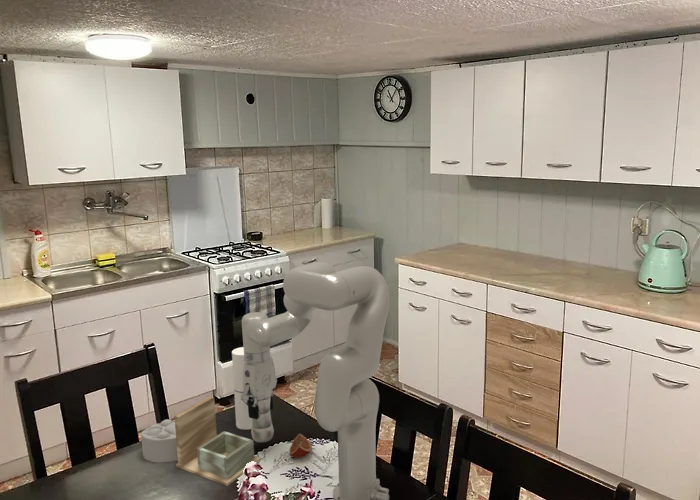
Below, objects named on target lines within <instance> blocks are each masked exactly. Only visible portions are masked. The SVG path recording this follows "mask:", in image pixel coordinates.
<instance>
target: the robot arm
mask: <svg viewBox="0 0 700 500" xmlns="http://www.w3.org/2000/svg"><path fill="white" fill-rule="evenodd" d="M284 276H285V277H284V278H283V283H282V288H283V292H284V296H283V305H284V307H285V309H286V310H287V311H285V312H283V313H280V314H277V315H273V316H271V317H268V315H267V314H266V313H264V312H257V311H256V312H253V311H252V312H249V313H246V314H244V315H243V316H242V318H241V328H242V329H241V331H242V333H241V334H242V342H243V346H242V347H244V361H245V363H244V369H243V389H244V392H243V394H242V396H241V400H242V401H243V402H244V403H245V404H246V405H247V406H248V412H249V418H253V419H258V418H259V416H258V406H256V403H257V398H259V397H261V396H263V395H264V394H265V393H266V392H268V391H271V399H270V411H272V410H274V403H273V402H274V400H273V396H274V395H275V394H274V391H275V388H277V387H276V386H277V382H278V378H277V376H276V375H277V374H276V367H275V364H274V362H275V361H274V359H273V357H272V355H271V347H272V346H275V345H278V344H280V343H283V342H285V341H288V340H290V339H293V338H296V337H297V336H299V335H300V334H301V333H302V332H303V331H304V330H305V329H306V328H307V327H308V326H309V325H310V324H311V322H312V318H313V312H314V310H315V309H319V310H322V311H323V310H324V311H327V312H328V311H331V312H334V311H339V310H343V309H346V308H349V307H350V306H351V307H352V306H354V305H356V308H355V310H354V312H353V313H352V316H351V318H350V321H349V323H348V329H347V337H346V341H345V342H344V344H343V345H341V346H339V347H337V348H336V349H333V350H331V351H329V352H327V354H325V355H324V357H323V358H322V359H321V361H320V363H319V366H318V371H317V377H316V378H317V380H316V386H315V387H316V388H315V393H314V394H315V396H314V404H313V405H314V408H313V409H314V415H315V419H316V422H317V424H318V425H319V426H320V427H321V428H322V429H324V431H328V432H334V433H335V432H337V459H338V460H337V461H338V463H337V464H338V465H337V466H338V482H337V483H336V485H335V487H333V490H332V498H333V500H390V494H389V491H390V490H389V488H386V487H382V486H381V485H380V484H381V482H380V478H377V474H376V471H377V469H376V468H377V465H376V463H377V461H376V457H377V455H376V449H377V447H376V442H377V441H376V438H377V437H376V430H377V429H376V426H377V425H376V424H377V416H378V411H379V406H380V405H379V404H380V393H379V390H378V388H377V386H376V384H375V383H374V382H373V381H372V380H371V379H370V378H371V377H373V376H374V375H375V374H376V373H377V371H378V369H379V366H380V362H381V361H380V359H381V354H382V347H383V341H384V335H385V333H384V332H385V326H386V321H387V319H388V313H389V309H390V301H391V300H390V299H391V297H390V296H391V295H390V289H389V286H388V283H387V281H386V279H385V277H384V276H383V275H382V274H381V272H379V270H377V269H376V268H374V267H371V266H368V265H366V266H365V265H364V266H363V265H362V266H361V265H359V266H354V267H349V268H346V269H343V270H340V271H337V270H336V268H335V267H334V266H333V265H331V264H330V263H328V262H326V261H325V262H323V261H317V262H311V263H308V264H304V265H301V266H297V267H293V268H291V269H290V270H289V271H288V272H287V273H286V274H285V275H284ZM251 394H252V395H251ZM251 397H253V401H251Z"/></svg>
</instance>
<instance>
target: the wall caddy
mask: <svg viewBox="0 0 700 500" xmlns="http://www.w3.org/2000/svg"><path fill="white" fill-rule="evenodd" d="M215 403H216V401H215V397H214V396H211V395H210V396H207V397H206V398H204V399H203V400H201V401H199V402H197V403H196V404H193V405H192V406H190V407H188V408H186V409H184V410H183V411H181V412H179V413H177V414H174V416H173V417H174V422H175V429H176V441H177V454H178V460H177V463H176V464H175V467H176V468H178V469H181V470H184V471H186V472H189V473H192V474H194V475H197V476H200V477H202V478H205V479H208V480H211V481H213V482H216V483H217V484H221V485H224V486H226V487H228V486H230V485H231V484H232V483H233V482H235V481H236V480H237V479H238V478H240V477H241V476H242V475H243V474H242V473H243V470H244V468H245V466H246V464H247V463H249V462H251V461H254V462H258V461H259V462H261V461H260V460H261V457H259V456H256V455H255V449H254V448H255V447H254V443H255V442H254V439H251V438H247V437H244V436H242V435H237V434H234V433H231V432H229V431H222V432H220V433H219V434H217V421H216V420H217V417H216V406H215V405H216V404H215ZM259 462H258V463H259Z"/></svg>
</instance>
